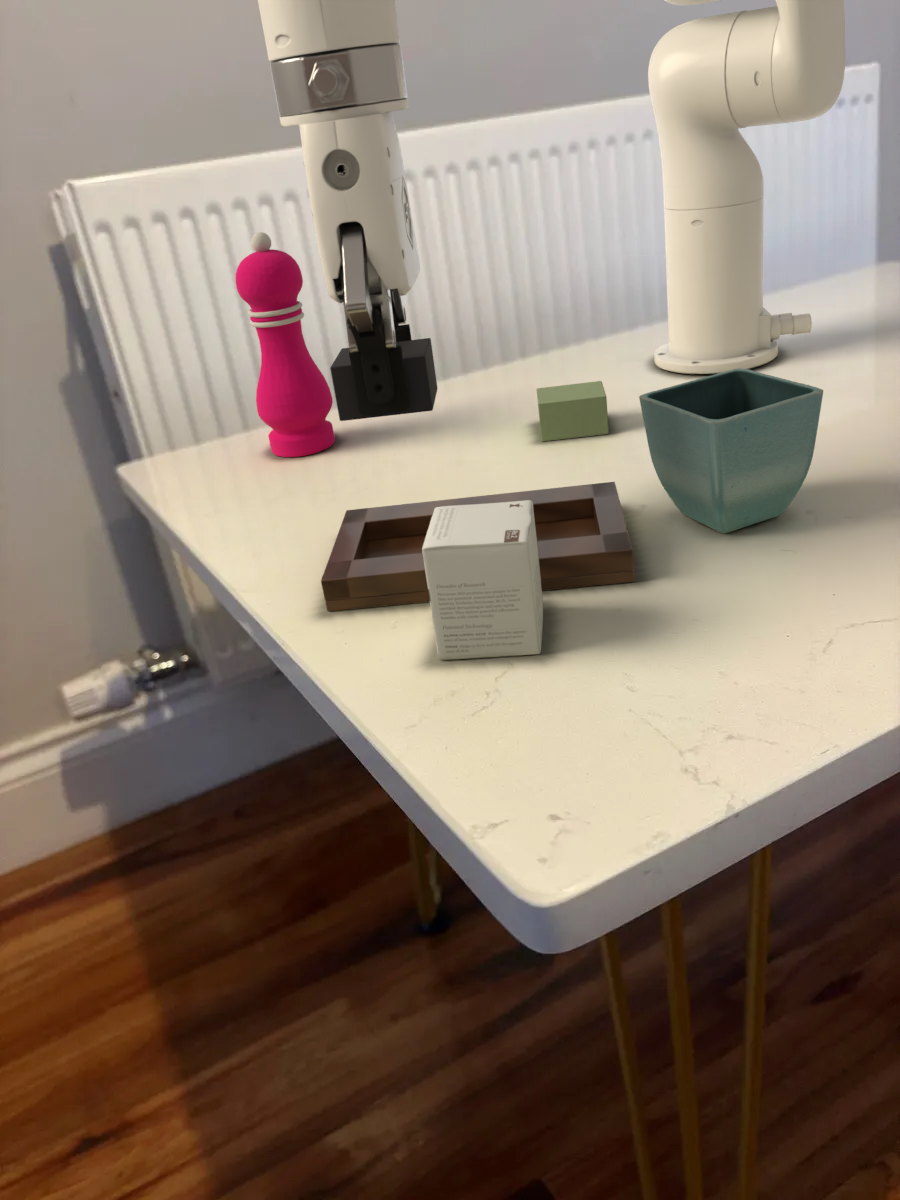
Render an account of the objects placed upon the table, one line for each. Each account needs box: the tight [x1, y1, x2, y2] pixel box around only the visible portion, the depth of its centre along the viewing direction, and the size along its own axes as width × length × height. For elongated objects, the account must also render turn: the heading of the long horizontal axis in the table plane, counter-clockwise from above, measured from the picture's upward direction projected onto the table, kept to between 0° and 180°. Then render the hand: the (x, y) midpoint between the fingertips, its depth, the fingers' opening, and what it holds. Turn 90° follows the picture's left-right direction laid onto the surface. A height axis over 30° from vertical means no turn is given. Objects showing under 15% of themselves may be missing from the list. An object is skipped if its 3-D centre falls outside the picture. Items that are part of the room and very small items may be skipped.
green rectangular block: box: [536, 380, 610, 442], centre depth 93 cm, size 6×5×4 cm
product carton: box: [422, 500, 544, 661], centre depth 60 cm, size 6×6×7 cm
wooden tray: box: [320, 481, 636, 612], centre depth 71 cm, size 20×12×2 cm, turn 87°
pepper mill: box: [235, 231, 336, 458], centre depth 95 cm, size 7×7×20 cm
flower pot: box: [638, 368, 824, 534], centre depth 70 cm, size 9×9×9 cm
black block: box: [329, 337, 438, 422], centre depth 66 cm, size 6×5×4 cm
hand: (389, 396), depth 67 cm, fingers closed on black block, 5 cm apart
